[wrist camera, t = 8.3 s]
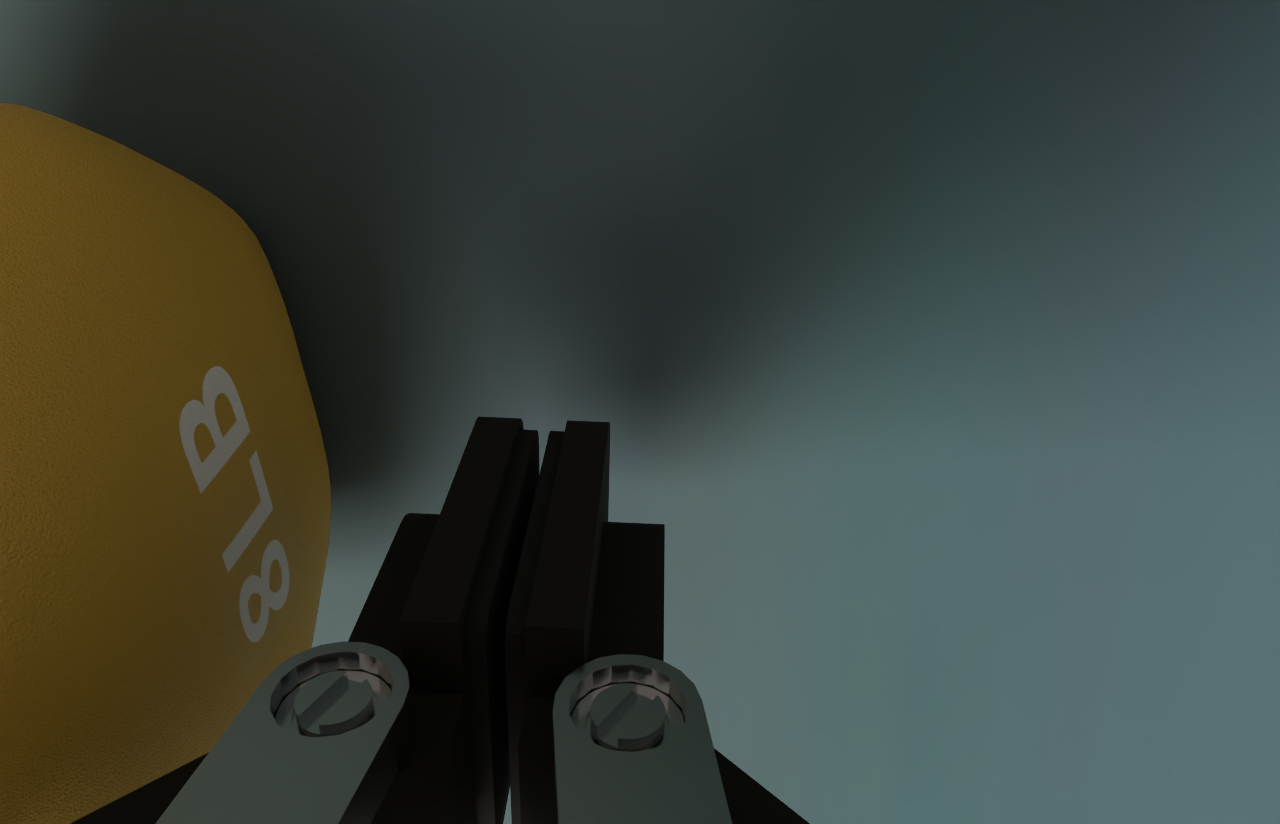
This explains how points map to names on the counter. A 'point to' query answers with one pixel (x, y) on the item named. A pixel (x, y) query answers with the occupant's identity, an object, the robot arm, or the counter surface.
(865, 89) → the counter surface
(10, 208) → the dumbbell
